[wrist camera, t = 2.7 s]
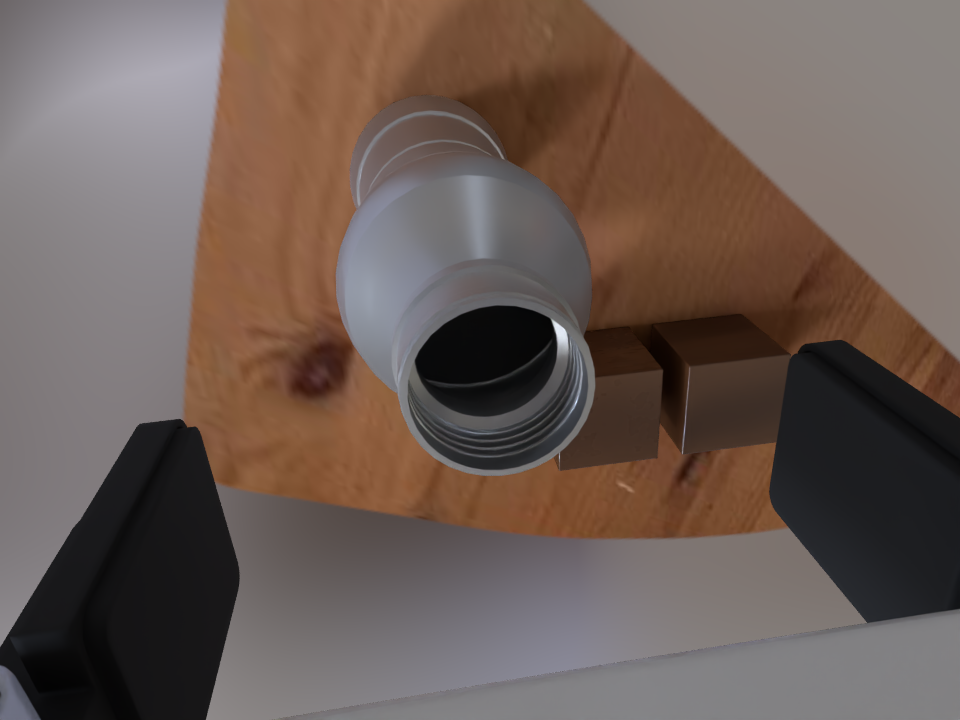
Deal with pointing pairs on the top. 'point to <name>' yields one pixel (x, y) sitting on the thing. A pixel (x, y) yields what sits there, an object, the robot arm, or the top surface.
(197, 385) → the top surface
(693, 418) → the walnut block
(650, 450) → the walnut block
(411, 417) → the silver bottle
